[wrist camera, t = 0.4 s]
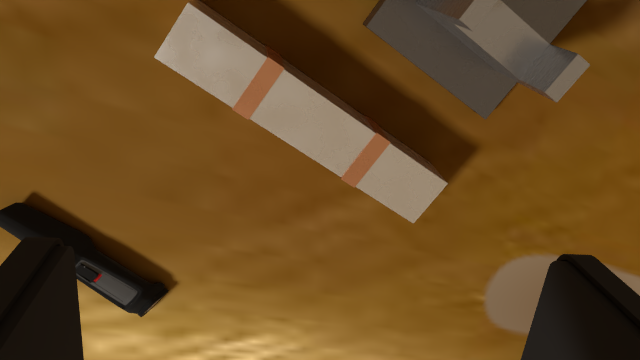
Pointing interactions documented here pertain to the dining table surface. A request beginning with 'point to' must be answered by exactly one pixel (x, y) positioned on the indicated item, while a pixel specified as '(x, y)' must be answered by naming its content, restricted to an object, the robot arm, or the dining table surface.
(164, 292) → the electric trimmer
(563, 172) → the dining table surface
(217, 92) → the white and orange bar
